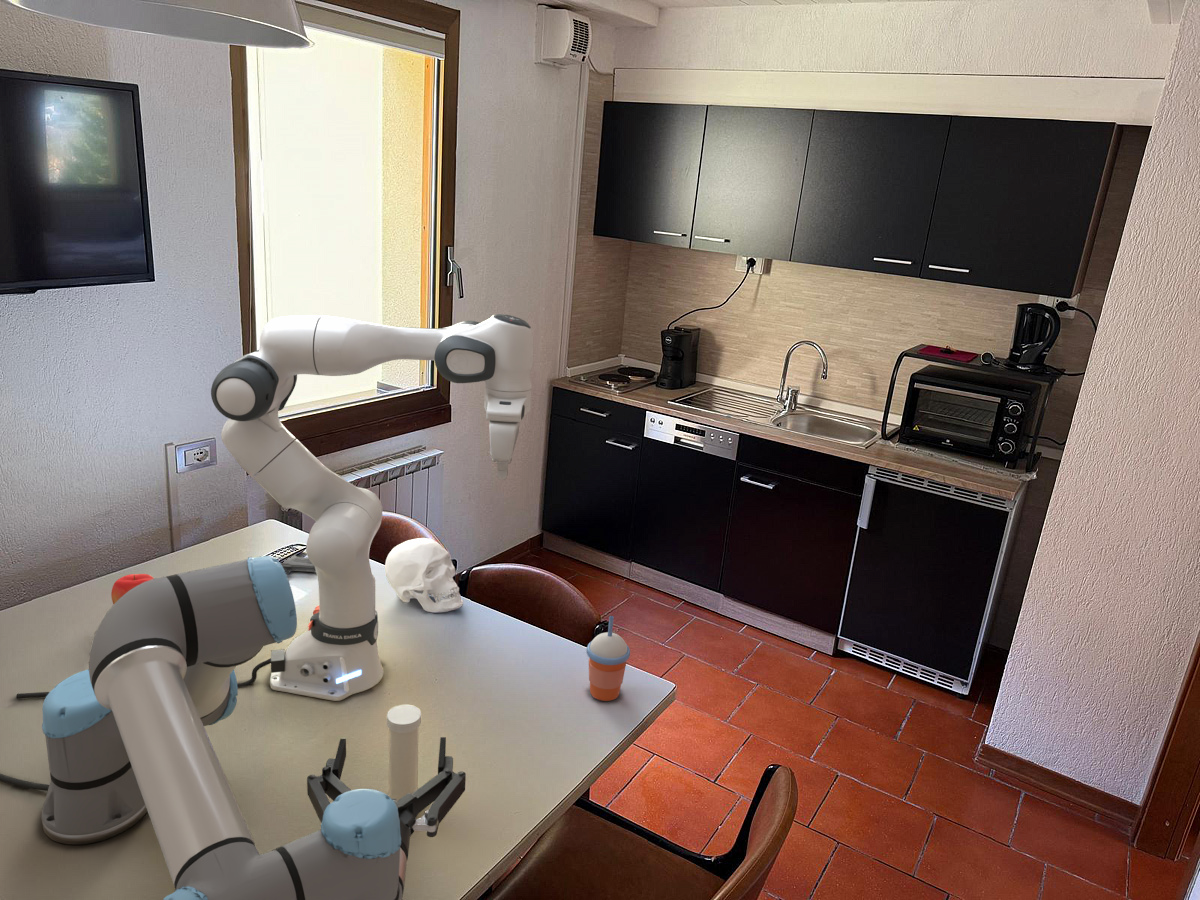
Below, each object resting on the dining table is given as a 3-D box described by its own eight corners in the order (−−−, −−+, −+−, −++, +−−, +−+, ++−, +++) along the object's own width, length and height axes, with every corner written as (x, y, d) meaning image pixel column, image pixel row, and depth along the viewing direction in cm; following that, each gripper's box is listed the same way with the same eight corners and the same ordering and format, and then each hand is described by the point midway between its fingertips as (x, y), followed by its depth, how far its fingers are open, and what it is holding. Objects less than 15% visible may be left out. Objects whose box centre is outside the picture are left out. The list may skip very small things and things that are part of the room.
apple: (164, 620, 195) (160, 580, 192) (116, 629, 189) (112, 588, 186) (157, 602, 202) (154, 563, 199) (111, 610, 197) (107, 571, 194)
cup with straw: (621, 709, 175) (629, 631, 170) (578, 700, 177) (585, 623, 172) (629, 685, 184) (636, 610, 179) (588, 677, 185) (594, 603, 180)
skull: (448, 622, 203) (451, 561, 199) (372, 599, 211) (374, 540, 207) (477, 602, 215) (480, 543, 211) (405, 581, 223) (406, 524, 219)
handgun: (292, 594, 211) (247, 586, 213) (325, 565, 228) (283, 558, 229) (291, 586, 211) (246, 578, 212) (325, 557, 227) (283, 550, 229)
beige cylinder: (414, 791, 148) (416, 706, 142) (419, 810, 143) (421, 722, 138) (386, 797, 146) (387, 710, 141) (390, 816, 142) (391, 727, 137)
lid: (417, 710, 143) (417, 702, 143) (423, 729, 138) (424, 721, 138) (384, 715, 141) (384, 707, 141) (389, 735, 136) (389, 726, 136)
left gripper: (263, 890, 99) (301, 770, 119) (481, 882, 102) (482, 767, 122) (261, 837, 96) (300, 724, 116) (483, 831, 100) (484, 722, 120)
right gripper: (496, 387, 172) (494, 452, 176) (485, 413, 153) (482, 486, 157) (528, 390, 172) (524, 455, 176) (520, 416, 153) (516, 488, 157)
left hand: (393, 745), depth 119 cm, fingers open, 13 cm apart
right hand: (504, 470), depth 166 cm, fingers open, 8 cm apart
